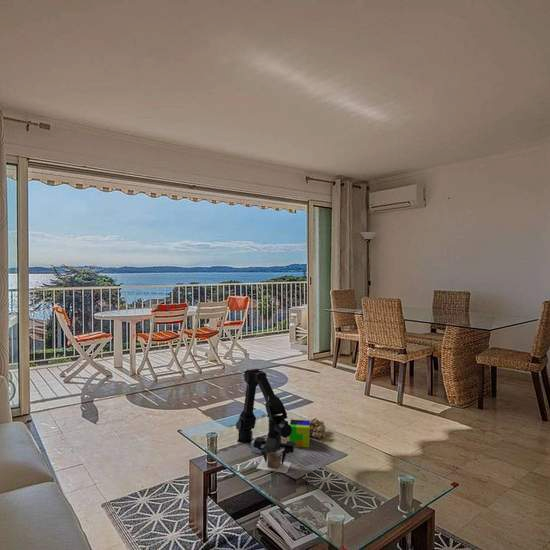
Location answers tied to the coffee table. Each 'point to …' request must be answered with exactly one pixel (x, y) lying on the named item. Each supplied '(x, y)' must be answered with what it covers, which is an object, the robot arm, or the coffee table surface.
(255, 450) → the blue cube
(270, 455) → the walnut block
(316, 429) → the mineral formation
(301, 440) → the puzzle toy
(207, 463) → the coffee table surface
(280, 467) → the letter
